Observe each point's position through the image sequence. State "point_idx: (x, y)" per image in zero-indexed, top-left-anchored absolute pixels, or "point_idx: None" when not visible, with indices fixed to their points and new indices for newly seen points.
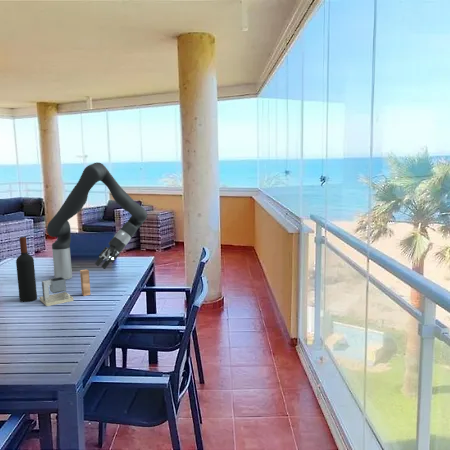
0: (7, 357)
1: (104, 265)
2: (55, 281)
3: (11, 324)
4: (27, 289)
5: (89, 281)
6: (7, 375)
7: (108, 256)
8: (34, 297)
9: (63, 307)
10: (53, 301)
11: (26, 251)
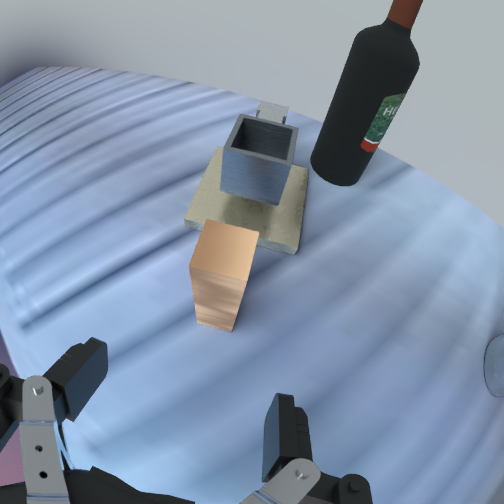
0: (70, 68)
1: (68, 351)
2: (236, 122)
3: (171, 84)
4: (323, 123)
5: (194, 298)
6: (43, 68)
7: (28, 422)
8: (316, 161)
9: (153, 172)
10: (211, 162)
11: (392, 16)
